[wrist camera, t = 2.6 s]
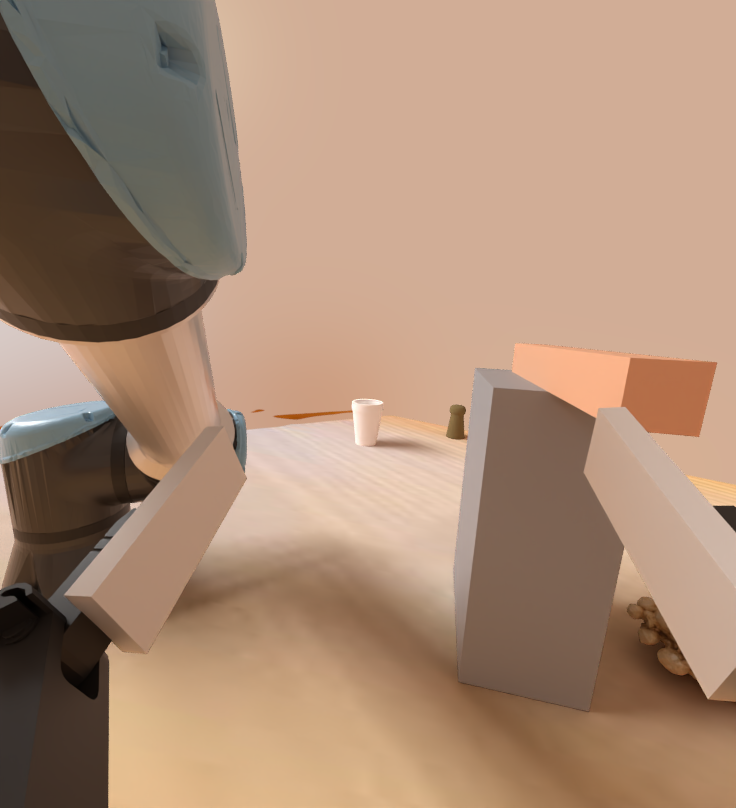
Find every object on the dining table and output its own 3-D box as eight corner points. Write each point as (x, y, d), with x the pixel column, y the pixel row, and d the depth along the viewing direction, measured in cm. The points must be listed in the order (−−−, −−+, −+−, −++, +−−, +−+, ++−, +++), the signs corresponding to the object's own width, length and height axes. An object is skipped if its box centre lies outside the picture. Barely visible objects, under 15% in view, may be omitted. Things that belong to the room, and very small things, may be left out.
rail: (699, 436, 17) (717, 362, 16) (616, 429, 17) (630, 357, 17) (541, 373, 44) (546, 344, 43) (511, 371, 44) (515, 343, 44)
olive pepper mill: (443, 436, 121) (446, 405, 119) (449, 433, 126) (452, 402, 124) (460, 440, 118) (464, 408, 116) (466, 436, 123) (469, 405, 121)
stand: (588, 711, 34) (655, 399, 28) (458, 681, 36) (493, 387, 30) (539, 583, 51) (573, 374, 45) (453, 568, 53) (475, 367, 47)
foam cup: (356, 437, 116) (358, 397, 114) (384, 440, 114) (386, 400, 111) (346, 445, 107) (347, 403, 105) (375, 449, 105) (378, 406, 102)
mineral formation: (853, 764, 30) (651, 701, 34) (735, 654, 43) (597, 617, 47) (875, 675, 30) (668, 620, 33) (749, 591, 43) (609, 558, 46)
